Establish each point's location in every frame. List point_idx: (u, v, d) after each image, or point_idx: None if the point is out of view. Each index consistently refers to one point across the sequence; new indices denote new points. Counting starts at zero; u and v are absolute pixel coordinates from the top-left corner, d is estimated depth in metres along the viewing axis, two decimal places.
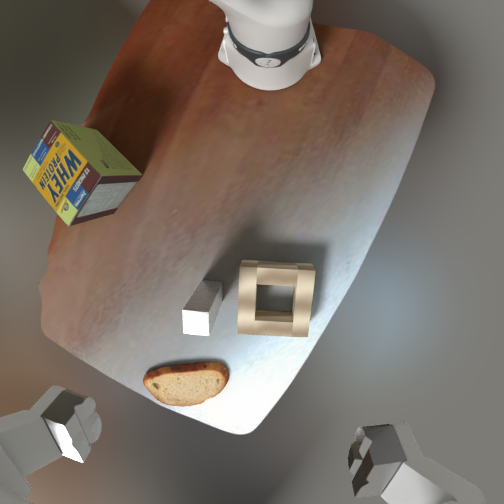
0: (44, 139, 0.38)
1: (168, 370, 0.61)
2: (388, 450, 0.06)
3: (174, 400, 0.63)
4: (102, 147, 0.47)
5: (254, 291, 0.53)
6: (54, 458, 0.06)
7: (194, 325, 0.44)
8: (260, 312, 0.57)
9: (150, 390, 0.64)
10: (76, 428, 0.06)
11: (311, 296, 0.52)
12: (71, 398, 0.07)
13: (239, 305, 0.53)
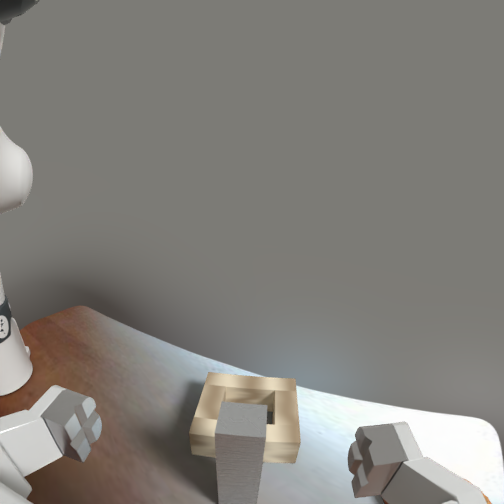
0: None
1: None
2: (389, 450, 0.06)
3: None
4: None
5: None
6: (54, 458, 0.06)
7: (246, 421, 0.22)
8: None
9: None
10: (76, 428, 0.06)
11: (239, 376, 0.42)
12: (71, 398, 0.07)
13: None
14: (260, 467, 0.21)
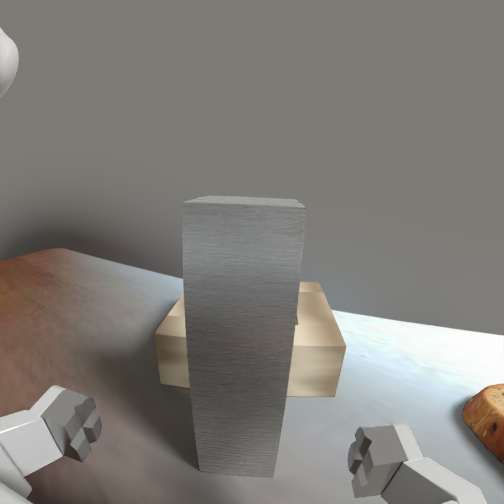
0: None
1: None
2: (388, 451, 0.06)
3: None
4: None
5: None
6: (54, 458, 0.06)
7: (256, 200, 0.11)
8: None
9: None
10: (76, 428, 0.06)
11: None
12: (71, 398, 0.07)
13: None
14: (291, 334, 0.11)
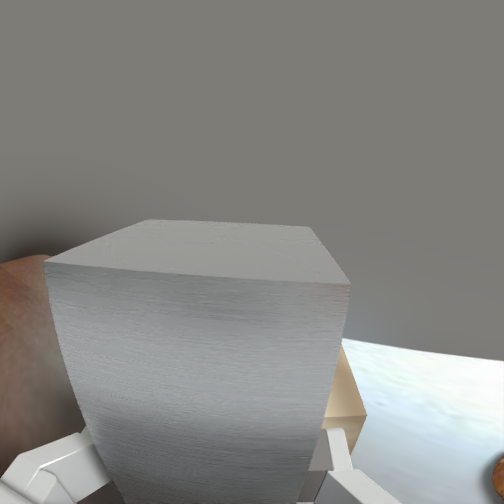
0: None
1: None
2: (314, 457, 0.06)
3: None
4: None
5: None
6: (108, 480, 0.06)
7: (225, 242, 0.05)
8: None
9: None
10: None
11: None
12: None
13: None
14: (292, 496, 0.04)
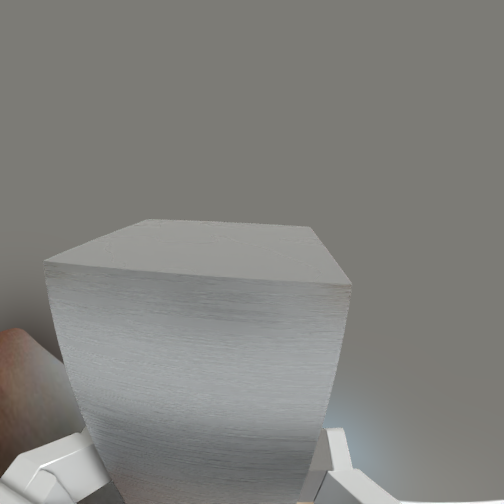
0: None
1: None
2: (314, 457, 0.06)
3: None
4: None
5: None
6: (108, 480, 0.06)
7: (225, 242, 0.05)
8: None
9: None
10: None
11: None
12: None
13: None
14: (292, 497, 0.04)
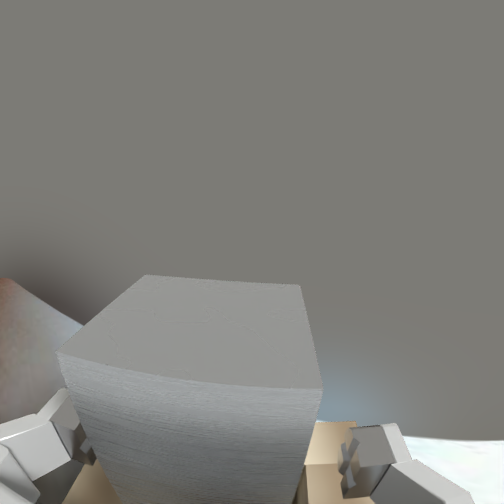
0: None
1: None
2: (376, 452, 0.06)
3: None
4: None
5: None
6: (62, 462, 0.06)
7: (217, 322, 0.05)
8: None
9: None
10: None
11: None
12: None
13: None
14: None
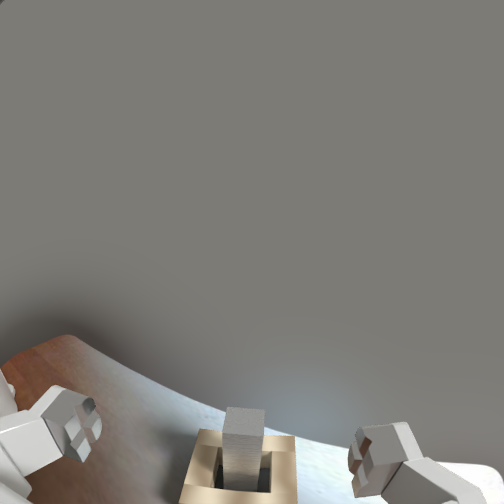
0: None
1: None
2: (388, 451, 0.06)
3: None
4: None
5: (221, 490, 0.26)
6: (54, 458, 0.06)
7: (247, 423, 0.27)
8: None
9: None
10: (76, 428, 0.06)
11: None
12: (71, 398, 0.07)
13: None
14: (259, 461, 0.26)
